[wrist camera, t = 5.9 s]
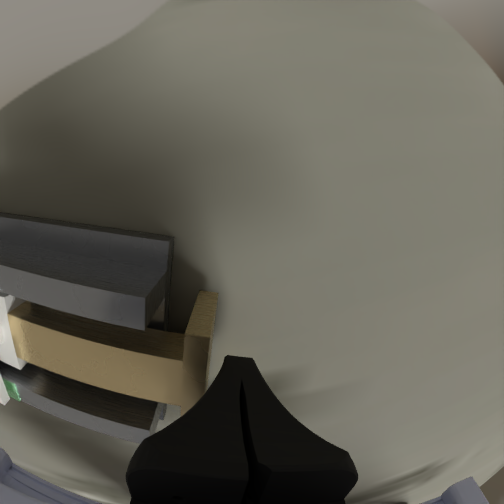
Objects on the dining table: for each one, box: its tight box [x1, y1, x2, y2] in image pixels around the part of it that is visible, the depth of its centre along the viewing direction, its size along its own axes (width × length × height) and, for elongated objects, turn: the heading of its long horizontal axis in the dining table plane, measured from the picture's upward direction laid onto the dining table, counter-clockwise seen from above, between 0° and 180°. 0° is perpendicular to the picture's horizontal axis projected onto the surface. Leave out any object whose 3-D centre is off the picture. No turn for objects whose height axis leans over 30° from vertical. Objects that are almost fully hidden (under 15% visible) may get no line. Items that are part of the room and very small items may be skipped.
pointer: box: [0, 292, 28, 405], centre depth 10 cm, size 2×7×4 cm, turn 171°
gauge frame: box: [0, 213, 174, 444], centre depth 11 cm, size 12×10×5 cm
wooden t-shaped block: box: [7, 290, 218, 416], centre depth 11 cm, size 10×6×4 cm, turn 81°
